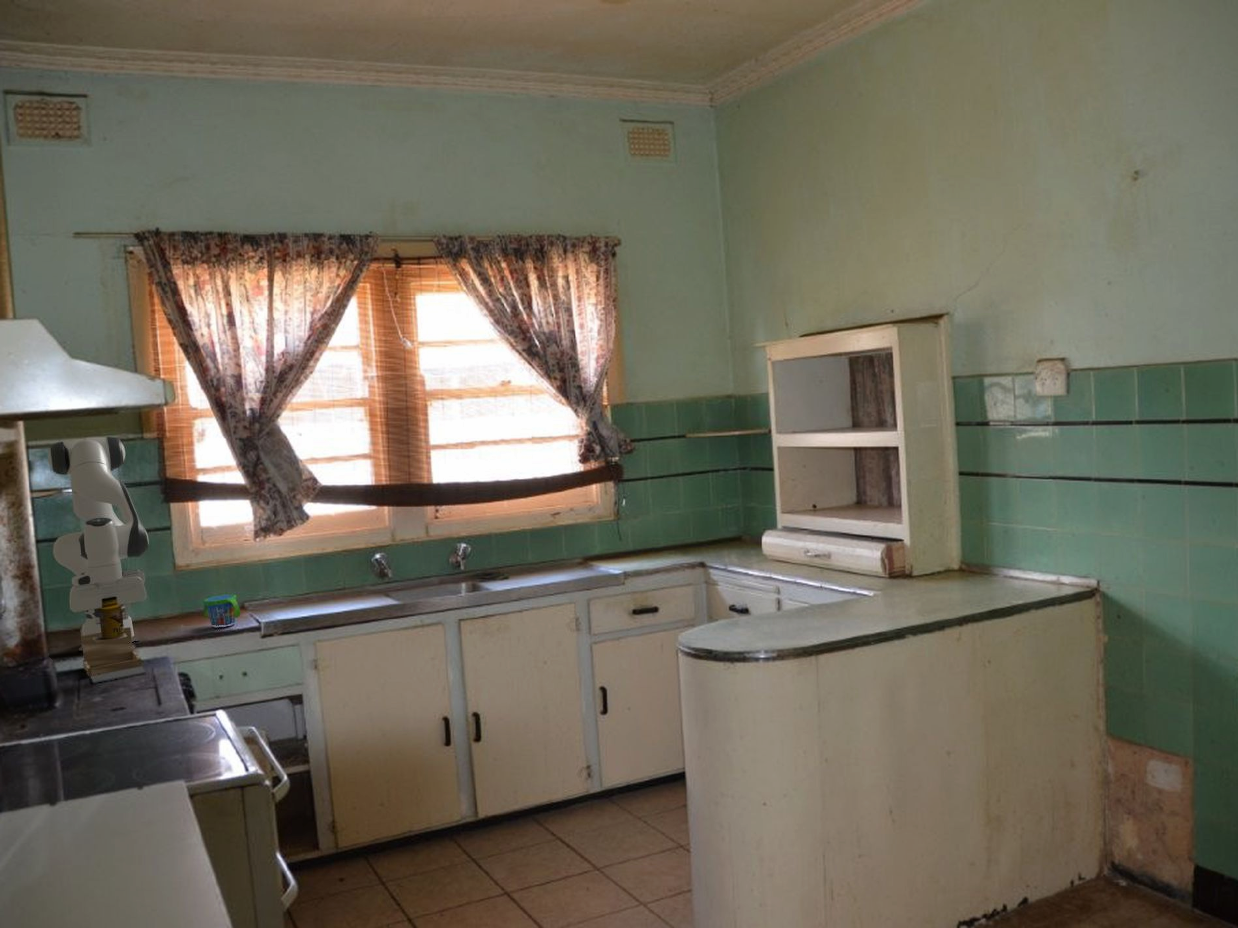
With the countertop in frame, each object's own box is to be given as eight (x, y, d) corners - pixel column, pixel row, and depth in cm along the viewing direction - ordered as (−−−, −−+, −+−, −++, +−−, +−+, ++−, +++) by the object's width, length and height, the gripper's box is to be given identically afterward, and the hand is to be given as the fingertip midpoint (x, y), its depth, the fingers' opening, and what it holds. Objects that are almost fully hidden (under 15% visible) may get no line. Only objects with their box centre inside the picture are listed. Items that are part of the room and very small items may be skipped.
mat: (90, 678, 321) (90, 676, 321) (142, 668, 328) (141, 666, 328) (93, 684, 314) (93, 681, 314) (146, 673, 321) (146, 671, 321)
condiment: (128, 636, 319) (122, 595, 318) (96, 642, 314) (90, 601, 314) (123, 633, 325) (118, 593, 324) (92, 639, 320) (87, 598, 320)
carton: (83, 668, 336) (79, 635, 335) (135, 658, 343) (131, 626, 343) (88, 677, 323) (84, 643, 322) (142, 666, 330) (138, 634, 329)
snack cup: (196, 628, 383) (193, 599, 382) (223, 621, 392) (219, 593, 391) (224, 631, 374) (220, 601, 373) (250, 624, 383) (247, 595, 382)
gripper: (142, 567, 327) (148, 613, 328) (65, 579, 316) (72, 626, 317) (145, 569, 321) (151, 616, 322) (67, 581, 311) (73, 629, 312)
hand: (111, 621), depth 320 cm, fingers closed on condiment, 6 cm apart
